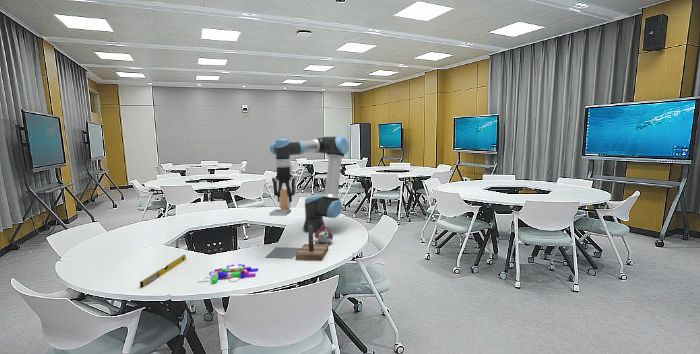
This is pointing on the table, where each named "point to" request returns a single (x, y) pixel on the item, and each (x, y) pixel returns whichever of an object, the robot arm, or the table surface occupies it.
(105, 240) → the table surface
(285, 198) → the square frame with handle
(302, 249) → the wooden peg stand
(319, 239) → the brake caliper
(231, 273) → the building block set
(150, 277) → the spirit level
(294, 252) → the rubber mat
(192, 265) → the table surface
